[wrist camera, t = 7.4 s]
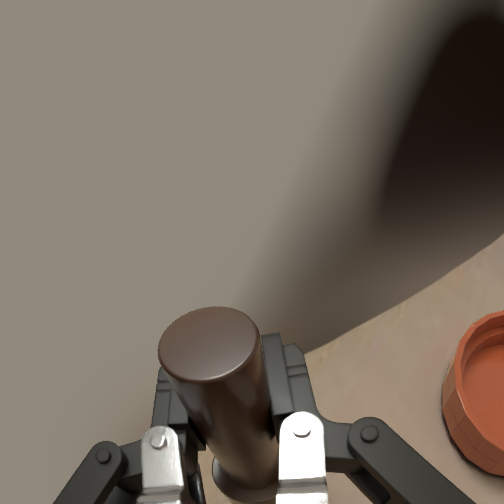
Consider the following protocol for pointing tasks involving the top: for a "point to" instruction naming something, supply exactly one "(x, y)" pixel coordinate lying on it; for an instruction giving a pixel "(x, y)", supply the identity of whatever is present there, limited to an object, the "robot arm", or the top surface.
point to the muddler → (226, 398)
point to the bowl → (478, 394)
